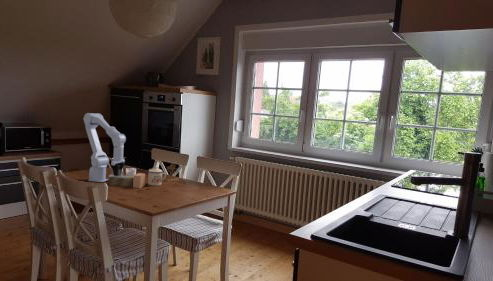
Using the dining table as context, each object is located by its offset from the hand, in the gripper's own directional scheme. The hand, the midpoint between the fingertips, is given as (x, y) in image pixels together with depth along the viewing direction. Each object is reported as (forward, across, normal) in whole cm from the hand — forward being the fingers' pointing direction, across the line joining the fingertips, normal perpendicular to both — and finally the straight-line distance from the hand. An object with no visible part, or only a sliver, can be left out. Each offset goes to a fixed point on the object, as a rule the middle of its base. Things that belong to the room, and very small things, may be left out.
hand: (117, 174), depth 218 cm
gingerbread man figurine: (+6, +25, -28) cm, 38 cm away
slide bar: (+3, 0, -2) cm, 4 cm away
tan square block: (+6, 0, -14) cm, 16 cm away
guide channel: (+6, 0, -4) cm, 7 cm away
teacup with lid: (+6, +11, -22) cm, 25 cm away
